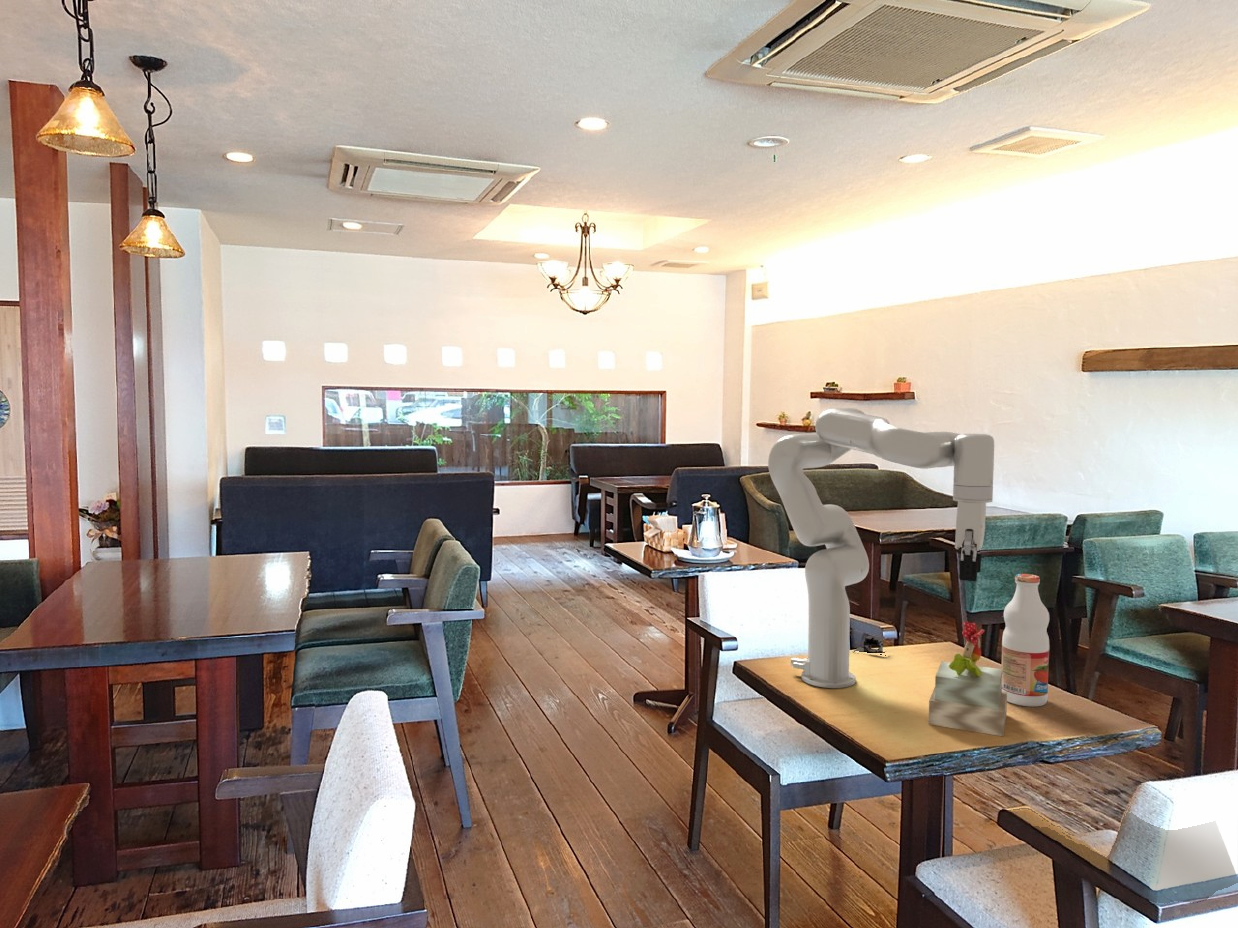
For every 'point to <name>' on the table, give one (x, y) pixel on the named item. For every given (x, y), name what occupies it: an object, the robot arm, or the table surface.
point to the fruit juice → (1025, 645)
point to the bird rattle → (969, 651)
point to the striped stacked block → (969, 700)
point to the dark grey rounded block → (872, 642)
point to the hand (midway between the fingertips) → (970, 575)
